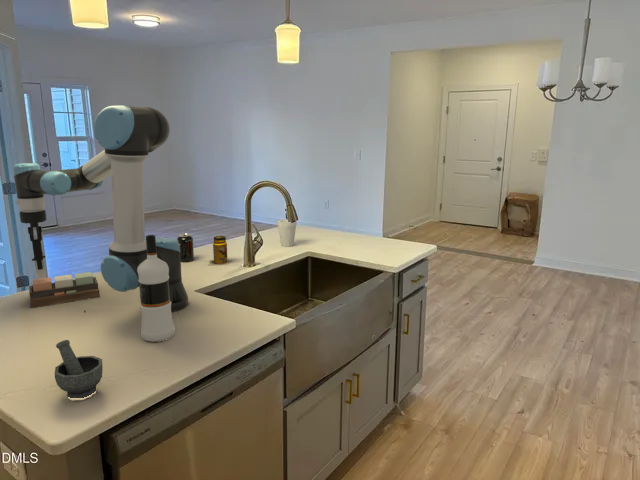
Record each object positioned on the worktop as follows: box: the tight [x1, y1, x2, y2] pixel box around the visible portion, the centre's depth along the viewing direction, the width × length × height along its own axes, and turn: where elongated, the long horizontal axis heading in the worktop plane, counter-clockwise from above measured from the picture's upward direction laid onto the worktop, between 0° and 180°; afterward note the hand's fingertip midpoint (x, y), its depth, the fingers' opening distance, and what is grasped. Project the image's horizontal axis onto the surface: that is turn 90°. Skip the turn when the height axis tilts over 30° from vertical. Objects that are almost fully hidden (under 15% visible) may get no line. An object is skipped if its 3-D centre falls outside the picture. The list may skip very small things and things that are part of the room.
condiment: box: [208, 235, 229, 266], centre depth 209 cm, size 7×8×12 cm
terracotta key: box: [32, 276, 53, 292], centre depth 163 cm, size 6×6×3 cm
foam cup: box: [277, 218, 297, 248], centre depth 241 cm, size 10×9×13 cm
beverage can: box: [176, 233, 195, 263], centre depth 212 cm, size 7×7×12 cm
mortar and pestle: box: [54, 339, 104, 398], centre depth 105 cm, size 11×9×12 cm
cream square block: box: [53, 274, 74, 289], centre depth 166 cm, size 6×6×3 cm
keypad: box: [28, 276, 101, 309], centre depth 167 cm, size 13×21×4 cm, turn 120°
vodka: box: [137, 234, 176, 343], centre depth 133 cm, size 9×9×30 cm
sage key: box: [74, 271, 94, 286], centre depth 169 cm, size 6×6×3 cm
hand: (41, 277), depth 162 cm, fingers closed
